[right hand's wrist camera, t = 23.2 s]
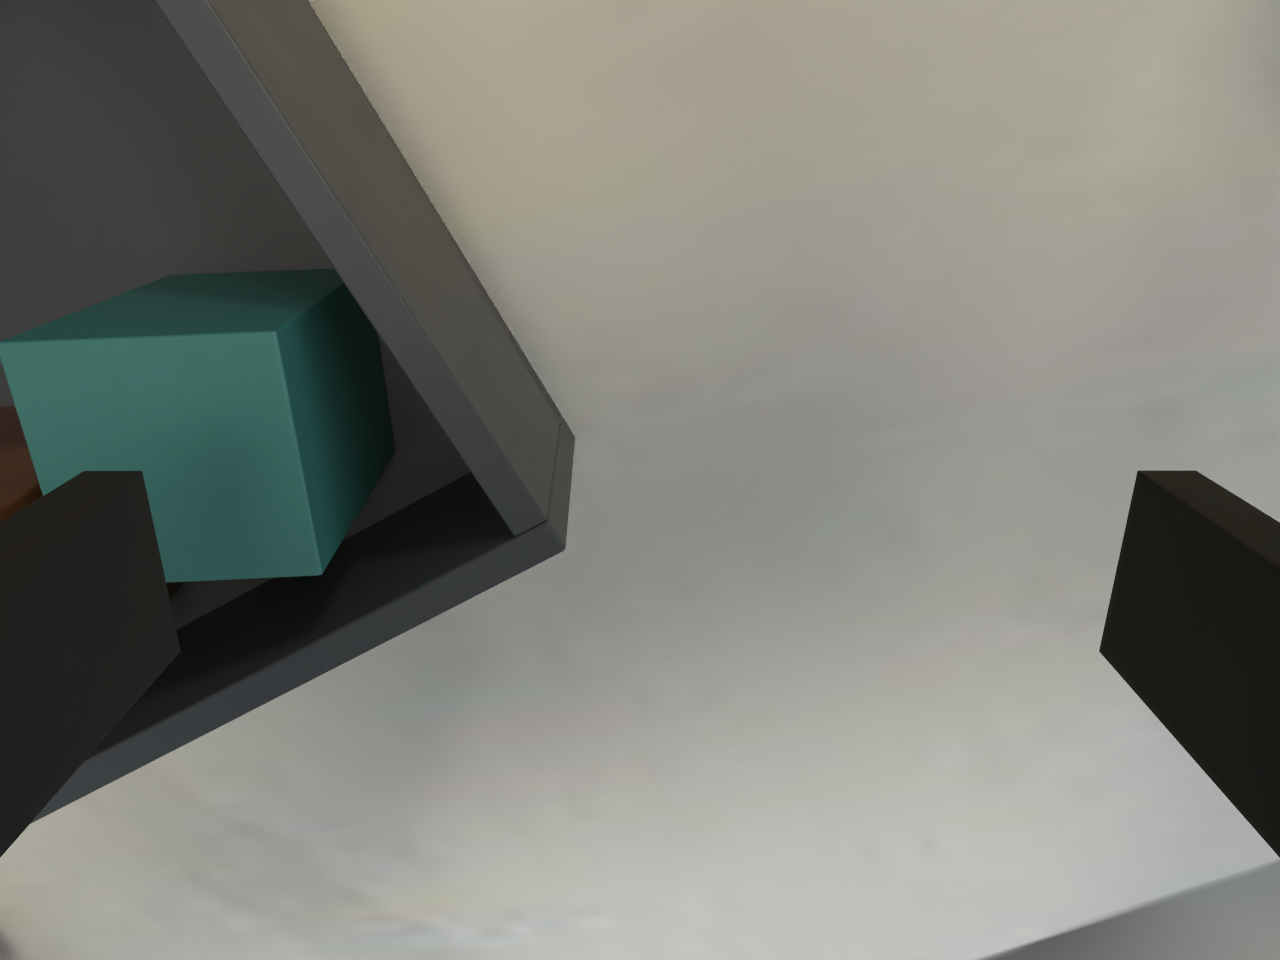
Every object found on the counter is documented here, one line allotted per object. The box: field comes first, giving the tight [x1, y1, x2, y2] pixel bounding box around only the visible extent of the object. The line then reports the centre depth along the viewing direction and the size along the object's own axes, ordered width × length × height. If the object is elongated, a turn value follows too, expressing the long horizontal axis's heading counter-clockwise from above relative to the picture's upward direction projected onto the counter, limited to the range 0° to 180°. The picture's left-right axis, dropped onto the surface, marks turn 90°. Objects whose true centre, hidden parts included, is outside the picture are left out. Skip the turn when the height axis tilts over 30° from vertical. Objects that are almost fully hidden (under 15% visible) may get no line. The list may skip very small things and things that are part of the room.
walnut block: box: [0, 407, 184, 599], centre depth 22 cm, size 5×5×7 cm
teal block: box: [0, 269, 395, 583], centre depth 20 cm, size 5×5×7 cm
